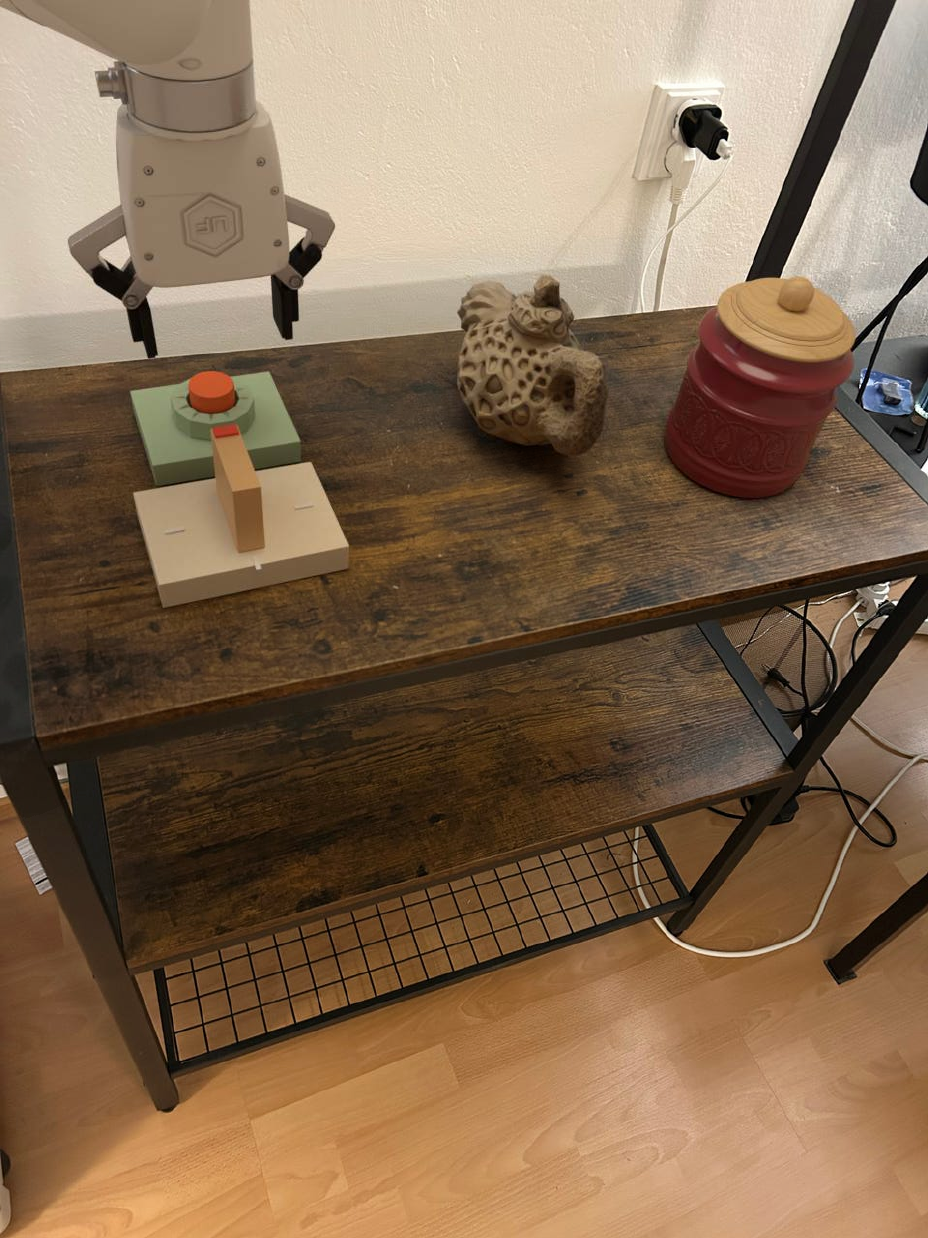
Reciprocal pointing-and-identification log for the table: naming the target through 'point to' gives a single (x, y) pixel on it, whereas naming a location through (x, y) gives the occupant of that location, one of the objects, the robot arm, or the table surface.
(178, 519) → the panel
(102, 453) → the table surface
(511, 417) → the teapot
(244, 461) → the handle
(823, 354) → the kitchen canister
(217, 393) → the button
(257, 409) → the button block
